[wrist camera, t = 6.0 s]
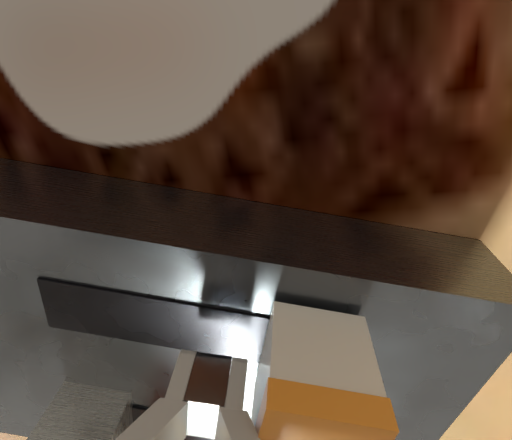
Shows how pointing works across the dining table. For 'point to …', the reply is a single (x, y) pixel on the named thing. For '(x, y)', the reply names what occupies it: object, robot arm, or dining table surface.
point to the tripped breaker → (320, 379)
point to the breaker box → (220, 299)
